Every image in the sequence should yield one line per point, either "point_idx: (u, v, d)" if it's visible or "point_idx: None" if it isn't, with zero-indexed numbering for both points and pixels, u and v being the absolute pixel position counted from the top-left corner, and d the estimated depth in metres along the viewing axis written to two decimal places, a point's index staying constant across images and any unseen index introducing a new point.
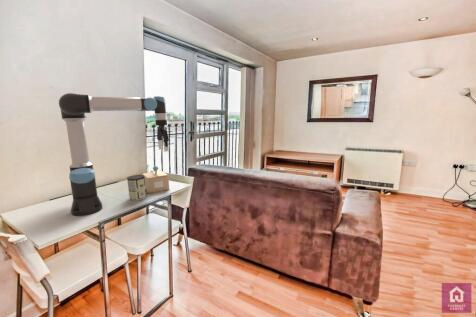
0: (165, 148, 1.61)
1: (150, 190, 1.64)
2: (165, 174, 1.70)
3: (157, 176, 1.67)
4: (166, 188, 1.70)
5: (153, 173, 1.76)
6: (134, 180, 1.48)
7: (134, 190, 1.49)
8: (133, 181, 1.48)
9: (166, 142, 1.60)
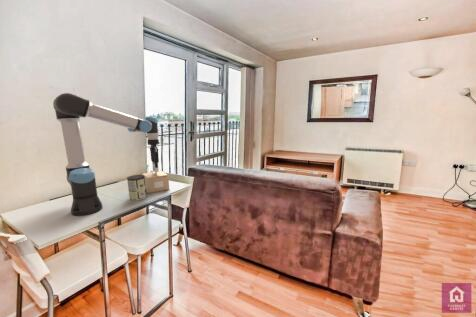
0: (155, 169, 1.70)
1: (150, 190, 1.64)
2: (165, 174, 1.70)
3: (157, 176, 1.67)
4: (166, 188, 1.70)
5: (153, 173, 1.76)
6: (134, 180, 1.48)
7: (134, 190, 1.49)
8: (133, 181, 1.48)
9: (156, 163, 1.69)
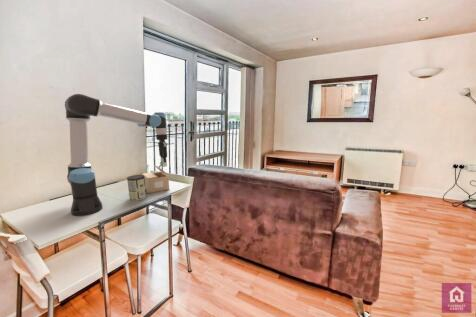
0: (163, 163, 1.73)
1: (150, 190, 1.64)
2: (166, 173, 1.70)
3: (160, 168, 1.67)
4: (166, 188, 1.70)
5: (156, 166, 1.76)
6: (134, 180, 1.48)
7: (134, 190, 1.49)
8: (133, 181, 1.48)
9: (164, 158, 1.71)
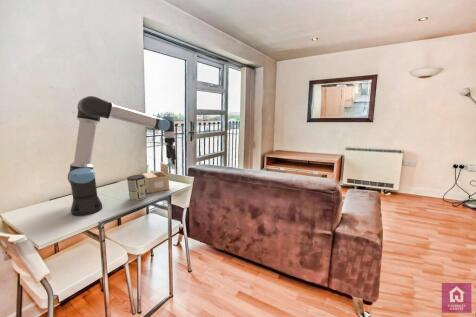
0: (172, 166, 1.74)
1: (150, 190, 1.64)
2: None
3: (167, 165, 1.70)
4: (166, 188, 1.70)
5: (162, 163, 1.79)
6: (134, 180, 1.48)
7: (134, 190, 1.49)
8: (133, 181, 1.48)
9: (173, 160, 1.73)
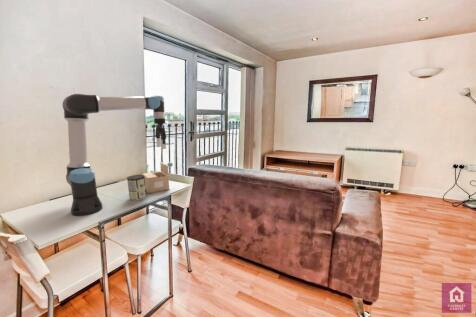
0: (162, 145, 1.68)
1: (150, 190, 1.64)
2: None
3: (167, 165, 1.70)
4: (166, 188, 1.70)
5: (162, 163, 1.79)
6: (134, 180, 1.48)
7: (134, 190, 1.49)
8: (133, 181, 1.48)
9: (164, 140, 1.66)
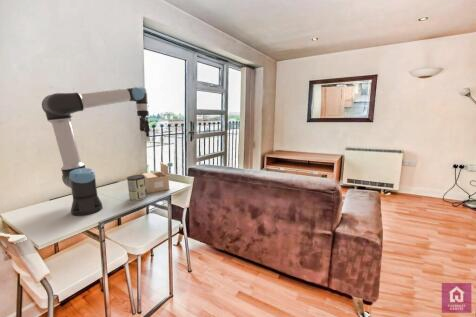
0: (146, 138, 1.64)
1: (150, 190, 1.64)
2: None
3: (167, 165, 1.70)
4: (166, 188, 1.70)
5: (162, 163, 1.79)
6: (134, 180, 1.48)
7: (134, 190, 1.49)
8: (133, 181, 1.48)
9: (147, 132, 1.63)
